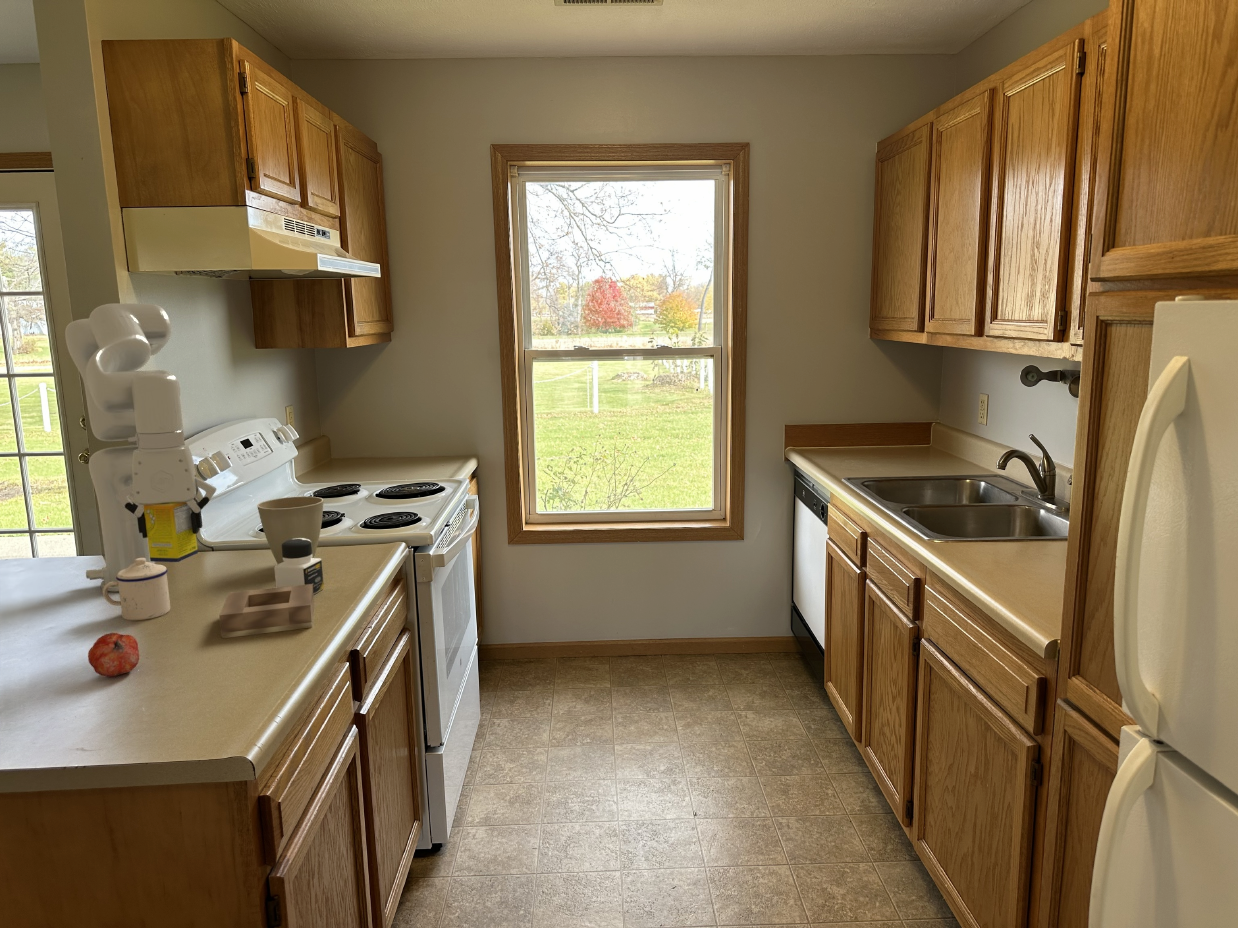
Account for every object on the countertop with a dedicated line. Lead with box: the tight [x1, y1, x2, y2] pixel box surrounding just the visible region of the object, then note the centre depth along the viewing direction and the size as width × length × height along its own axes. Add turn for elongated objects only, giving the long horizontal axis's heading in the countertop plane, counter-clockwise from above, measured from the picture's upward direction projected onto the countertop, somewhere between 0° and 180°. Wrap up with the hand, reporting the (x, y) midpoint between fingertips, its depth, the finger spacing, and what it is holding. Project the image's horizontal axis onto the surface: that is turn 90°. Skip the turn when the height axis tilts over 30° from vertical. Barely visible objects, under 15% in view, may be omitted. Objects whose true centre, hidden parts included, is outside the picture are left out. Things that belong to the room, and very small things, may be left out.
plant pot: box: [256, 495, 324, 565], centre depth 202 cm, size 15×15×16 cm
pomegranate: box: [87, 632, 140, 678], centre depth 141 cm, size 7×7×10 cm
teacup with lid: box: [102, 558, 171, 621], centre depth 170 cm, size 12×9×12 cm
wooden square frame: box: [219, 584, 315, 639], centre depth 165 cm, size 16×14×4 cm
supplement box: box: [143, 502, 199, 563], centre depth 156 cm, size 6×6×11 cm
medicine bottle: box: [274, 538, 325, 596], centre depth 181 cm, size 7×7×12 cm
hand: (171, 533), depth 156 cm, fingers closed on supplement box, 7 cm apart
